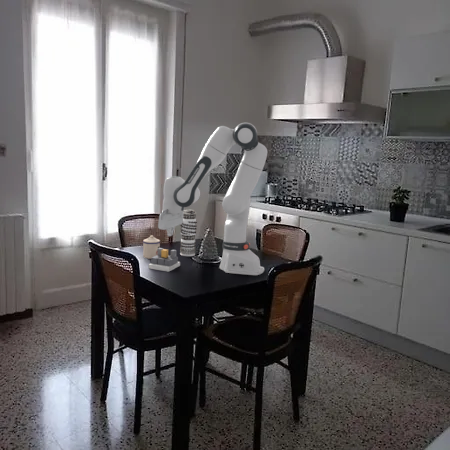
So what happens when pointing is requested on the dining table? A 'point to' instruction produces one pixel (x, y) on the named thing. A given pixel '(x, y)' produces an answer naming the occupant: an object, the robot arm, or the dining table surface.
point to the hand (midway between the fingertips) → (170, 235)
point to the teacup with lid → (150, 247)
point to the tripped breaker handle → (164, 253)
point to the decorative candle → (188, 233)
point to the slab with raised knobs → (164, 261)
